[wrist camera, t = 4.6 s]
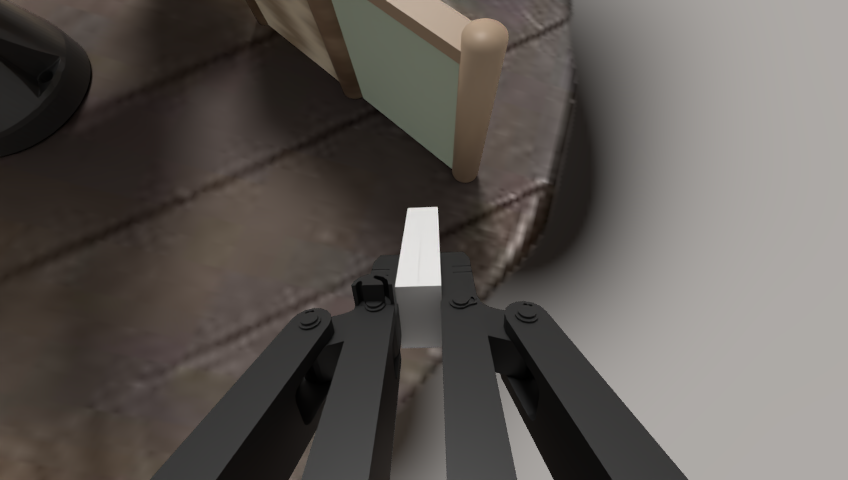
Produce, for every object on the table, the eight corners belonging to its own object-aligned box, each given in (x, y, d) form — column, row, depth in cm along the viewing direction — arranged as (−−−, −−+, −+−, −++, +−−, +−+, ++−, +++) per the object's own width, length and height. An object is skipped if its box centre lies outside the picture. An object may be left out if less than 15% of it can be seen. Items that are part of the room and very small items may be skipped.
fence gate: (359, 101, 30) (302, -63, 18) (376, 86, 31) (332, -84, 18) (466, 187, 27) (487, 62, 15) (483, 170, 28) (518, 34, 15)
